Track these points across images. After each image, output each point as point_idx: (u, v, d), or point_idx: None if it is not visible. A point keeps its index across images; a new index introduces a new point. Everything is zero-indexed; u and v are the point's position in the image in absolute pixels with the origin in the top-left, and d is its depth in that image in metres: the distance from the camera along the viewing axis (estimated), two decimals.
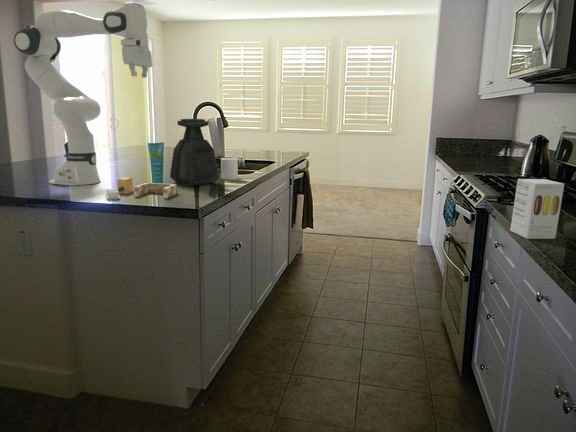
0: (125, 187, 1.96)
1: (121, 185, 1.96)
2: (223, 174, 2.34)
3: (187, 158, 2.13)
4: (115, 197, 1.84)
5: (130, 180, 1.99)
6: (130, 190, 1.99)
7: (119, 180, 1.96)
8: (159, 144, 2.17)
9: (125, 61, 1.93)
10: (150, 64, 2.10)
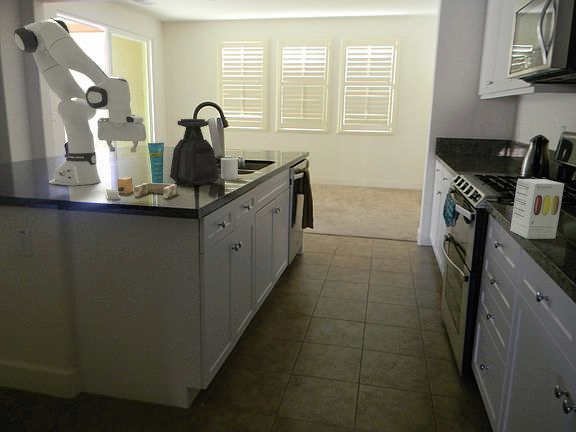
0: (125, 187, 1.96)
1: (121, 185, 1.96)
2: (223, 174, 2.34)
3: (187, 158, 2.13)
4: (115, 197, 1.84)
5: (130, 180, 1.99)
6: (130, 190, 1.99)
7: (119, 180, 1.96)
8: (159, 144, 2.17)
9: (143, 138, 1.91)
10: None
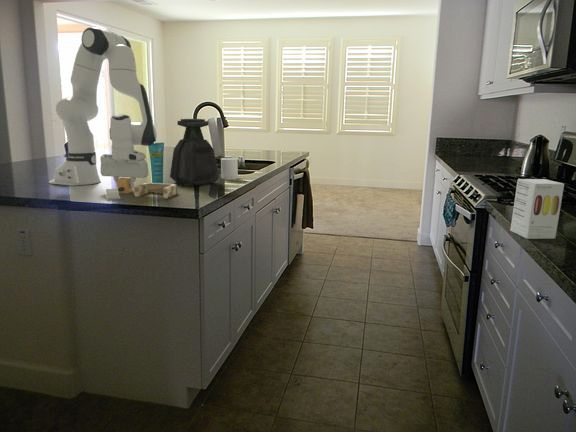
0: (125, 187, 1.96)
1: (121, 185, 1.96)
2: (223, 174, 2.34)
3: (187, 158, 2.13)
4: (115, 197, 1.84)
5: (130, 180, 1.99)
6: (130, 190, 1.99)
7: (119, 180, 1.96)
8: (159, 144, 2.17)
9: (145, 175, 1.95)
10: None
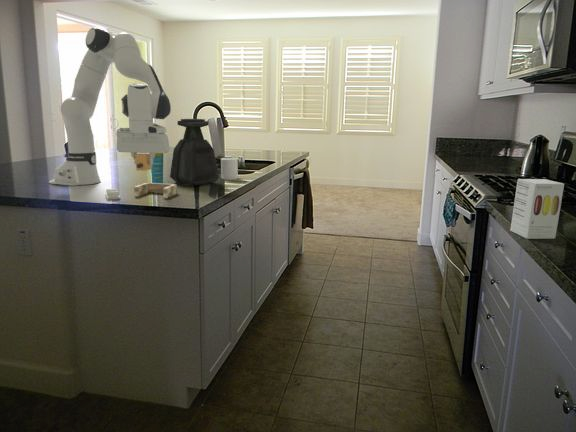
0: (144, 163, 1.78)
1: (140, 161, 1.78)
2: (223, 174, 2.34)
3: (187, 158, 2.13)
4: (115, 197, 1.84)
5: (149, 156, 1.81)
6: (149, 167, 1.82)
7: (137, 156, 1.78)
8: None
9: (166, 150, 1.78)
10: None
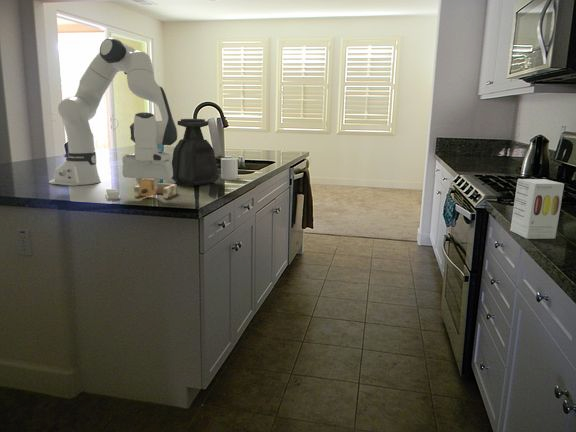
0: (148, 189, 1.85)
1: (144, 187, 1.85)
2: (223, 174, 2.34)
3: (187, 158, 2.13)
4: (115, 197, 1.84)
5: (153, 181, 1.88)
6: (153, 192, 1.88)
7: (142, 181, 1.85)
8: None
9: (170, 177, 1.84)
10: None
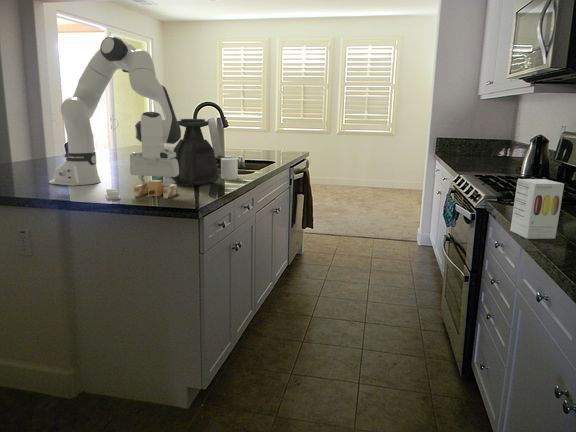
0: (156, 190, 1.91)
1: (151, 188, 1.91)
2: (223, 174, 2.34)
3: (187, 158, 2.13)
4: (115, 197, 1.84)
5: (160, 183, 1.93)
6: (160, 193, 1.94)
7: (149, 183, 1.90)
8: None
9: (176, 174, 1.89)
10: None
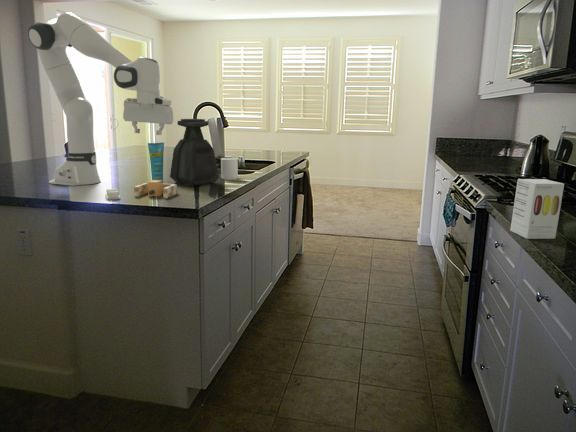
0: (156, 190, 1.91)
1: (151, 188, 1.91)
2: (223, 174, 2.34)
3: (187, 158, 2.13)
4: (115, 197, 1.84)
5: (160, 183, 1.93)
6: (160, 193, 1.94)
7: (149, 183, 1.90)
8: (159, 144, 2.17)
9: (170, 121, 1.88)
10: None
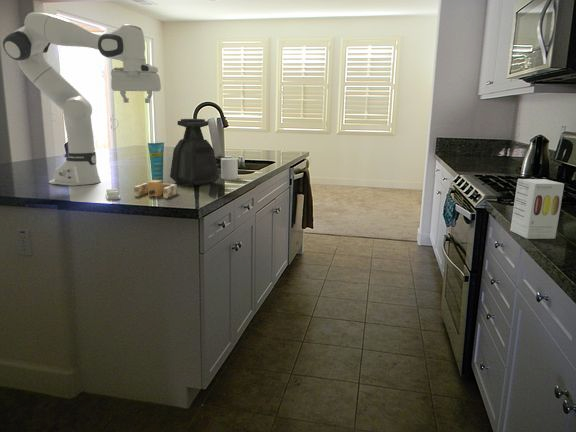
0: (156, 190, 1.91)
1: (151, 188, 1.91)
2: (223, 174, 2.34)
3: (187, 158, 2.13)
4: (115, 197, 1.84)
5: (160, 183, 1.93)
6: (160, 193, 1.94)
7: (149, 183, 1.90)
8: (159, 144, 2.17)
9: (158, 88, 1.89)
10: None
